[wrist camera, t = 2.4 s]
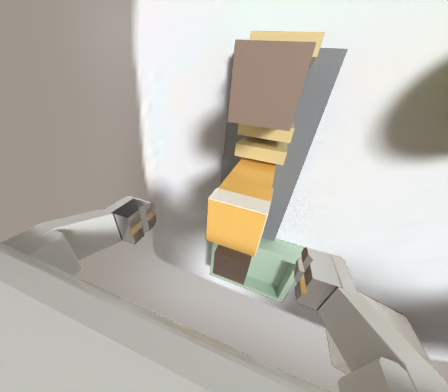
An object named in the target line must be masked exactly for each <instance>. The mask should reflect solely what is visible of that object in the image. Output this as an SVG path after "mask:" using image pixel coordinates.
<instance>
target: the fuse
mask: <svg viewBox="0 0 448 392" xmlns="http://www.w3.org/2000/svg"><path fill="white" fill-rule="evenodd" d="M275 168H276V164H274V163H269V162H264V161H259V160H254V159H249V158H244V157H242V159H241V160H240V161H239V162H238V164H237V165H236V166H235V167H234V169H233V170H232V171H231V172H230V174H229V175H228V176H227V177H226V179H225V180H224V181H223V182H222V184H221V185H220V186H219V187H218V188H216V189H215V190H214V192H213V193H212V194H211V195H210V196H209V198H208V212H207V232H206V240H207V241H210V242H213V243H216V244H219V245H221V246H224V247H227V248H230V249H233V250H236V251H239V252H242V253H245V254H248V255H251V256H255V255H256V252H257V249H258V246H259V242H260V239H261V236H262V233H263V230H264V227H265V223H266V220H267V217H268V213H269V207H270V196H271V190H272V185H273V179H274V174H275Z"/></svg>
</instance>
